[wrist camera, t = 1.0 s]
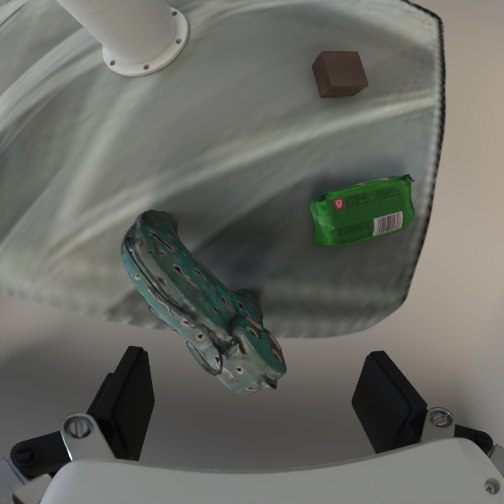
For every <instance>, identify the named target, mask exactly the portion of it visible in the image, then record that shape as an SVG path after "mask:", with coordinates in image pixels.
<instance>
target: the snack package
mask: <svg viewBox="0 0 504 504" xmlns="http://www.w3.org/2000/svg"><path fill="white" fill-rule="evenodd" d="M411 181H413V182H414V180H412V178H411V177H410V174H407V175H405V176H402V177H385V178H380V179H375V180H371V181H367V182H363V183H359V184H355V185H350V186H346V187H341V188H336V189H332V190H328V191H326V192H324V193H322V194H320V195H319V196H317V197H316V198H314V199H313V200H312V202H311V204H310V210H311V212H312V215H313V219H314V224H315V234H314V244H317V245H332V246H341V245H347V244H352V243H356V242H360V241H363V240H367V239H372V238H375V237H380V236H383V235H387V234H390V233H394V232H397V231H399V230H402V229H404V228H406V227H407V226H408V225H410V224H411V222H412V221H413V218H414V215H415V211H414V208H413V204H412V200H411Z"/></svg>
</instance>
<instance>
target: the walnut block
mask: <svg viewBox="0 0 504 504" xmlns="http://www.w3.org/2000/svg"><path fill="white" fill-rule="evenodd" d="M312 68H313V72H314V75H315V79H316V83H317V86H318V90H319V94H320V97H321V98H323V97H338V96H354V95H355V94H357V93H358V92H360V91H361V90H363V89H364V88H366V87H367V86H368V82H367V79H366V75H365V72H364V69H363V66H362V63H361V60H360V57H359V54H358V52H352V51H322V52H321V53H320V55H319V56H318V58H317V59H316V60H315V62H314V63H313V65H312Z"/></svg>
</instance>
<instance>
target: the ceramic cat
mask: <svg viewBox="0 0 504 504" xmlns="http://www.w3.org/2000/svg"><path fill="white" fill-rule="evenodd" d="M177 226H178V225H177V223H176V221H175V220H174V219H173V218H172V217H171V216H170V215H169V214H168V213H166V212H163V211H162V212H159V211H155V210H149V211H146V212H144V213H142V214H140V215H139V216H138V217H137V219H136V221H135V223H134V224H133V225H132V226H131V228H130V229H129V230H128V231H127V233H126V235H125V237H124V239H123V242H122V245H121V255H122V259H123V262H124V265H125V267H126V269H127V271H128V273H129V275H130V277H131V279H132V281H133V283H134V284H135V286H136V288H137V289H138V291H139V292H140V294H141V295H142V296H143V297H144V298H145V300H146V301H147V302H148V303H149V306H150V308H149V310H150V311H151V312H152V313H153V314H155V315H156V316H157V317H158V318H159V319H161V320H162V321H163V322H165V323H166V324H168V325H169V326H170V327H171V328H172V329H173V330H175V331H176V332H177V333H178V334H180V335H181V336H183V337H184V338H185V339H187V340H188V341H187V346H188V348H189V350H190V351H191V353H192V355H193V356H194V358H195V359H196V360H197V362H198V363H199V364H200V365H201V367H202V368H203V369H204V370H205V371H206V372H208V373H209V374H212V375H214V376H217V377H218V378H219V379H220V380H221V381H222V383H223V384H224V385H226V386H227V387H228V388H229V389H231V390H233V391H235V392H236V393H239V394H243V395H251V394H253V393H256V392H258V391H260V390H262V389H264V388H269V389H272V390H276V388H277V387H276V386H277V380H278V379H279V378H280V377H282V376H283V375H284V374H285V373H286V364H285V361H284V357H283V355H282V349H281V347H280V345H279V343H278V342H277V340H276V339H275V338H274V336H273V335H272V334H271V332H270V331H268V330H266V329H265V328H264V327H263V322H262V320H263V313H262V311H261V308H260V304H259V301H258V300H257V299H256V298H255V297H254V296H253V295H252V294H251V293H250V292H249V291H248V290H247V289H240V290H239V291H237V292H236V293H234V292H232V291H230V290H229V289H227V288H226V287H225V286H224V285H223V284H222V283H221V282H220V281H219V280H218V279H217V278H216V277H215V276H214V275H213V274H212V273H211V272H210V271H208V270H207V269H206V268H205V267H204V266H203V265H202V264H201V263H200V262H199V261H198V260H196V259H195V258H194V257H193V256H192V254H191V253H190V252H189V251H188V250H187V248H186V247H185V246H184V245H183V243H182V242H181V241H180V239H179V237H178V235H177ZM189 341H190V342H191V343H193V344H194V345H195V346H196V347H197V348H199V349H200V350H201V351H202V353H203V354H204V355H205V358H206V359H207V361H208V363H209V364H208V363H207V362H206V361H205V360H204V358H203V357H202V356H201V355H200V353H199V352H198V351H197V349H196V348H195V347H194V346H193V345H192V344H191V343H190V342H189ZM210 366H211V367H210Z"/></svg>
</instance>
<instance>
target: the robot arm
mask: <svg viewBox="0 0 504 504" xmlns="http://www.w3.org/2000/svg"><path fill="white" fill-rule="evenodd" d="M56 1H57V2H58V3H59V4H61V5H62V6H63V7H64V8H65V9H66V10H67V11H68V12H69V13H70V14H71V15H72V16H73V17H74V18H75V19H76V20H77V21H79V22H80V23H81V24H82V25H83V26H84V27H85V28H86V29H87V30H88V31H89V32H90V33H91V34H92V35H93V36H94V37H95V38H96V39H97V40H98V41H99V42H100V43H101V44H102V45H103V58H104V60H105V63H106V64H107V65H108V67H109V68H110V69H111V70H113V71H114V72H116V73H118V74H120V75H123V76H130V77H136V76H143V75H147V74H150V73H153V72H155V71H158V70H160V69H161V68H163V67H165V66H166V65H168V64H169V63H170V62H171V61H173V60H174V59H175V58H176V57H177V56H178V55H179V54H180V52H181V51H182V49H183V48H184V46H185V44H186V42H187V39H188V34H189V30H188V24H187V21H186V19H185V17H184V15H183V14H182V13H181V12H180V11H178V10H177V9H175V8H172V7H170V6H169V5H168V3H167V0H56ZM179 43H180V44H179ZM147 68H149V69H147ZM154 402H155V400H154V392H153V387H152V380H151V373H150V366H149V358H148V353H147V351H144V350H143V348H142V347H136V346H129V347H128V348H127V350H126V352H125V354H124V355H123V357H122V359H121V361H120V363H119V365H118V366H117V368H116V370H115V372H114V373H109V374H108V375H107V376H106V378H105V380H104V381H103V383H102V385H101V387H100V389H99V391H98V392H97V394H96V396H95V398H94V400H93V402H92V404H91V406H90V407H89V409H88V411H87V413H86V414H85V413H79V412H77V413H71V414H69V415H67V416H65V417H64V418H63V419H62V421H61V423H60V431H57V432H54V433H51V434H47V435H44V436H40V437H37V438H33V439H30V440H26V441H22V442H20V443H17V444H16V445H15V446H14V447H13V448H12V450H11V453H10V458H8V459H5V458H4V457H3V458H2V459H0V504H38V503H40V502H41V504H504V448H503V447H501V446H499V445H498V444H496V445H495V446H493V440H492V438H491V437H490V436H489V435H488V434H486V433H485V432H482V431H478V430H474V429H471V428H467V427H463V426H459V425H456V424H455V417H454V415H453V414H452V413H451V412H450V411H449V410H447V409H444V408H441V407H434V408H431V409H430V410H429V411H428V410H427V409H426V407H427V404H426V402H425V401H424V400H423V399H422V397H421V396H420V395H419V394H418V392H417V391H416V390H415V388H414V387H413V386H412V385H411V383H410V382H409V381H408V380H407V378H406V377H405V376H404V375H403V374H402V372H401V371H400V370H399V369H398V367H397V366H396V365H395V364H394V362H393V361H392V360H391V359H390V358H389V356H388V355H387V354H386V353H385V352H384V351H374V352H371V353H370V354H369V355H368V356H367V357H366V359H365V363H364V366H363V369H362V372H361V375H360V378H359V381H358V384H357V386H356V389H355V392H354V395H353V398H352V406H353V408H354V410H355V412H356V414H357V416H358V418H359V420H360V422H361V424H362V426H363V428H364V430H365V432H366V434H367V436H368V438H369V441H370V443H371V445H372V446H373V448H374V451H375V453H376V454H375V455H370V456H366V457H361V458H356V459H352V460H347V461H340V462H334V463H328V464H321V465H314V466H305V467H295V468H283V469H265V470H218V469H201V468H189V467H178V466H169V465H161V464H154V463H147V462H139V458H140V454H141V450H142V446H143V443H144V439H145V435H146V432H147V428H148V425H149V421H150V418H151V414H152V411H153V407H154ZM42 497H43V499H42V501H40V500H39V499H41V498H42Z"/></svg>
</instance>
